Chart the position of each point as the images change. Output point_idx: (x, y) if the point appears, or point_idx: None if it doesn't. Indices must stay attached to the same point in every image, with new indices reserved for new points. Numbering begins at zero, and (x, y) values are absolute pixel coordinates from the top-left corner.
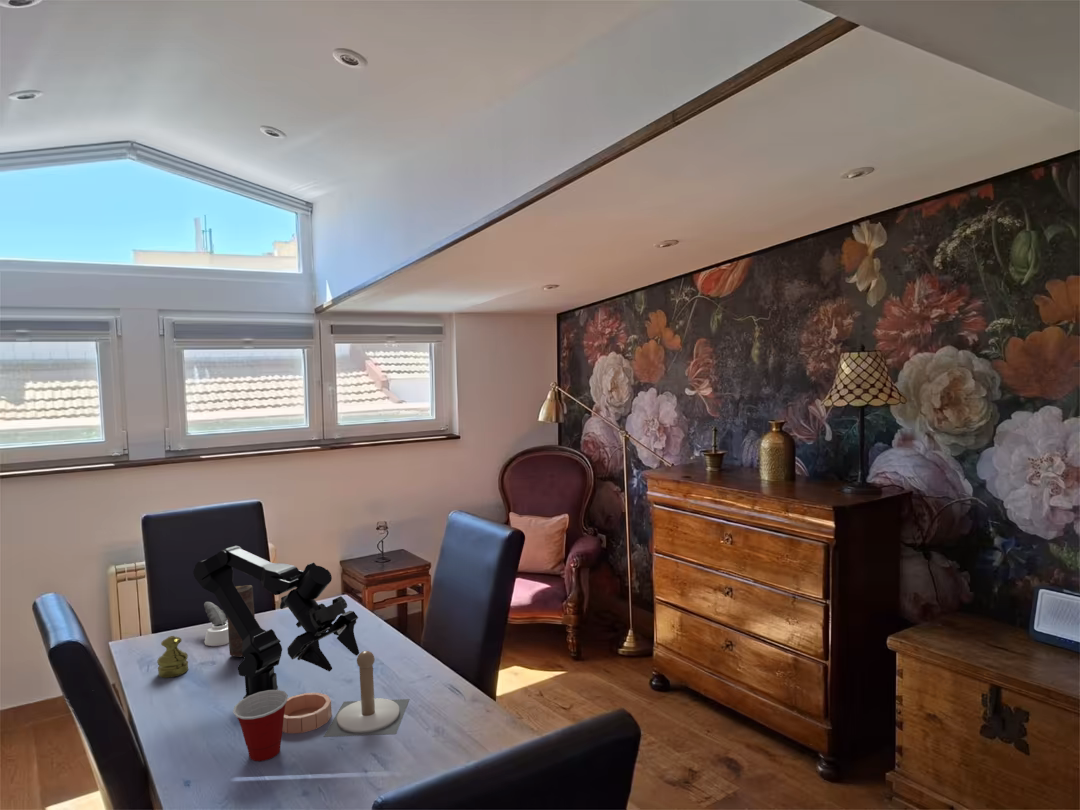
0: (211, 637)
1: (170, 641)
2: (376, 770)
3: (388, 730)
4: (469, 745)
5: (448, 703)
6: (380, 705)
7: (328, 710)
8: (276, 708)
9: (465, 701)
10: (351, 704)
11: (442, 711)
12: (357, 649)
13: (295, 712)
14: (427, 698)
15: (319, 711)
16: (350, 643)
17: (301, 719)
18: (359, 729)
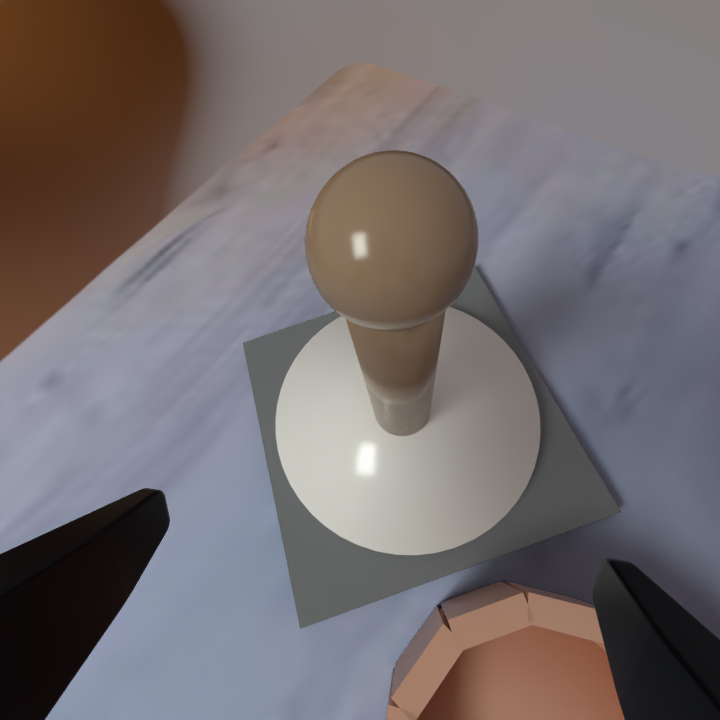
0: None
1: None
2: (659, 224)
3: (464, 295)
4: (439, 112)
5: (246, 237)
6: (334, 394)
7: (493, 596)
8: None
9: (230, 206)
10: (355, 534)
11: (295, 230)
12: (117, 508)
13: None
14: (219, 305)
15: (585, 611)
16: (3, 653)
17: None
18: (524, 372)
